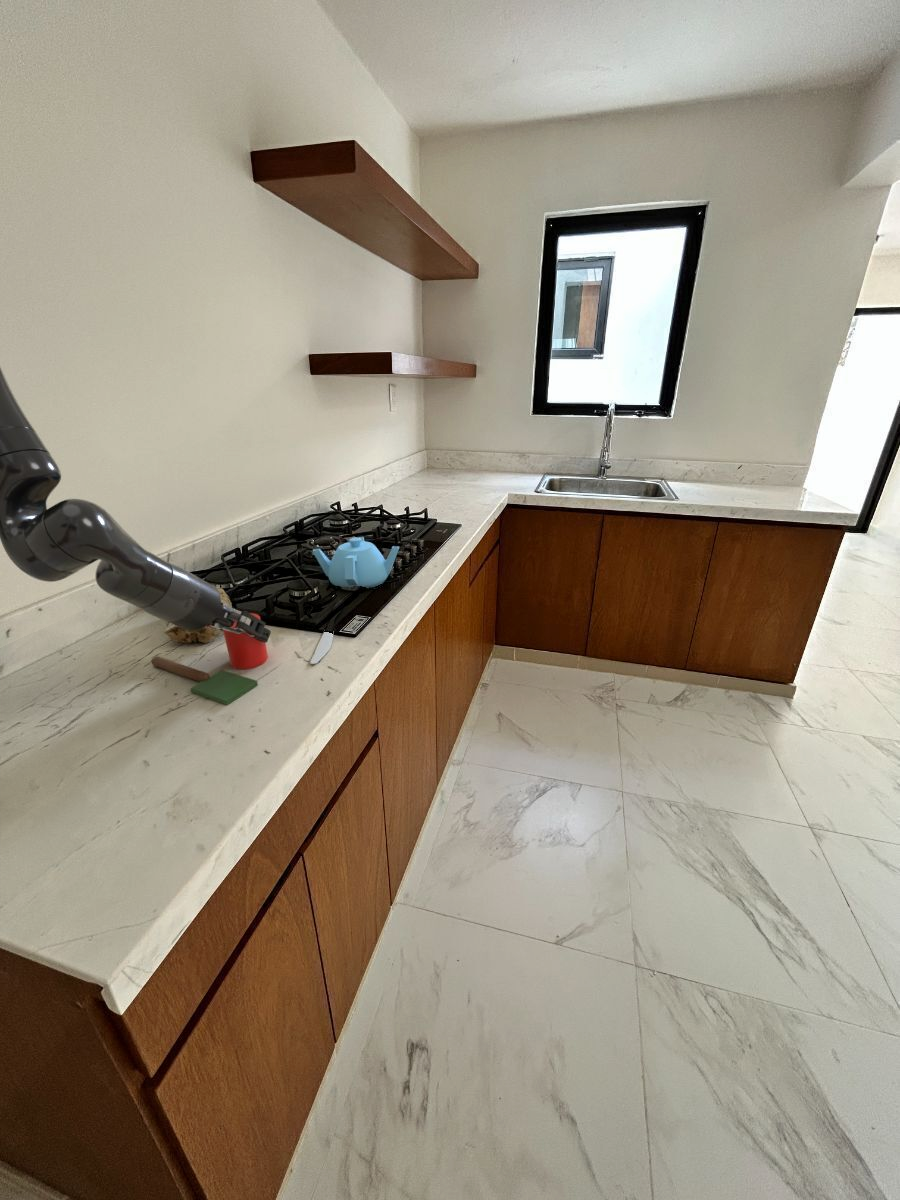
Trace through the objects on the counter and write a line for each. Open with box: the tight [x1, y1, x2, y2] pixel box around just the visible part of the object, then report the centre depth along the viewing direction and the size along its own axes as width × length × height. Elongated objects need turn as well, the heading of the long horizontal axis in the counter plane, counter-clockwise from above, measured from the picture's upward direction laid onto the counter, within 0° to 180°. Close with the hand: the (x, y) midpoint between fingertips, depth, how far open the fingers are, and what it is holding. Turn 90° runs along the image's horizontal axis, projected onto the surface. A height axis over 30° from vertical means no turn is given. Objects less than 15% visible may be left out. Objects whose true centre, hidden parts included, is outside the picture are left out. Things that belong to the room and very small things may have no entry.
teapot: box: [312, 536, 400, 588], centre depth 116 cm, size 15×15×11 cm
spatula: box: [150, 656, 259, 706], centre depth 80 cm, size 21×6×2 cm, turn 63°
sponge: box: [164, 584, 233, 644], centre depth 98 cm, size 13×8×20 cm
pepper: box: [222, 612, 269, 670], centre depth 84 cm, size 6×6×9 cm
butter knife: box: [309, 631, 334, 665], centre depth 96 cm, size 1×27×3 cm
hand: (251, 633), depth 86 cm, fingers closed on pepper, 6 cm apart
